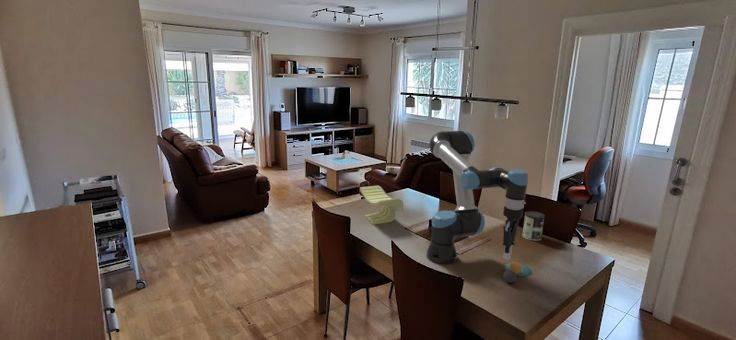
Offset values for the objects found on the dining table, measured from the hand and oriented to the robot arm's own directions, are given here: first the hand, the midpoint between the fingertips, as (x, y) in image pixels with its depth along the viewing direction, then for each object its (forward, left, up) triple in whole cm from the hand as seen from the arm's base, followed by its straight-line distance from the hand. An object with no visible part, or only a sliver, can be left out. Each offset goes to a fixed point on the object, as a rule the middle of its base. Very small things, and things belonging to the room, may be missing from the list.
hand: (506, 258), depth 158 cm
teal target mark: (+14, +13, -13) cm, 23 cm away
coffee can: (+41, +48, -14) cm, 65 cm away
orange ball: (+11, +10, -11) cm, 18 cm away
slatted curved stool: (-43, +81, -14) cm, 93 cm away
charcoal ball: (+4, +3, -11) cm, 12 cm away
